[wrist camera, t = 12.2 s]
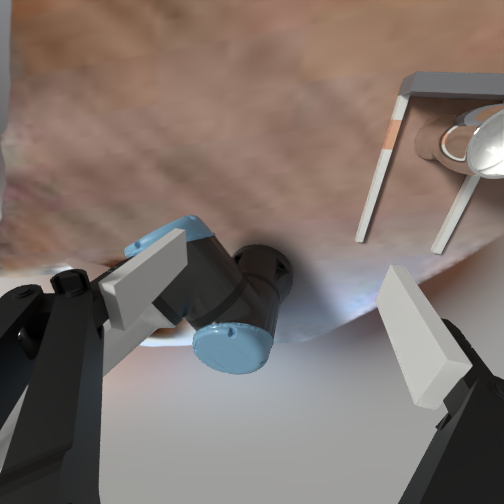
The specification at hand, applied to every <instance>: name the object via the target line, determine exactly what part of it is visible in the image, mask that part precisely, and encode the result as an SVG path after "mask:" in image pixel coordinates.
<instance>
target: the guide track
mask: <svg viewBox="0 0 504 504" xmlns="http://www.w3.org/2000/svg"><path fill="white" fill-rule="evenodd" d="M409 97H432V98H457V99H482V100H504V74H498V73H454V72H415V73H413V74H411V75H410V76H408V77H406V78H404V79H403V81H402V84H401V88H400V91H399V94H398V98H397V101H396V104H395V108H394V111H393V114H392V118H391V121H390V124H389V127H388V131H387V134H386V137H385V141H384V144H383V147H382V151H381V154H380V157H379V161H378V164H377V167H376V170H375V174H374V177H373V180H372V184H371V187H370V190H369V194H368V197H367V200H366V204H365V207H364V210H363V213H362V217H361V220H360V223H359V227H358V230H357V233H356V237H355V241H357V242H363V239H364V236H365V233H366V230H367V227H368V224H369V221H370V217H371V214H372V211H373V208H374V205H375V202H376V199H377V196H378V193H379V190H380V187H381V183H382V180H383V177H384V174H385V171H386V168H387V165H388V162H389V159H390V156H391V152H392V149H393V146H394V143H395V140H396V137H397V134H398V131H399V128H400V125H401V121H402V118H403V115H404V112H405V109H406V106H407V103H408V100H409ZM502 104H504V101H503V103H502ZM479 179H480V177H477V176H471V175H467V176H466V178H465V180H464V182H463V184H462V186H461V188H460V190H459V193H458V195H457V197H456V199H455V201H454V203H453V205H452V207H451V209H450V211H449V213H448V215H447V217H446V219H445V221H444V223H443V225H442V227H441V229H440V231H439V233H438V235H437V238H436V240H435V242H434V244H433V246H432V248H431V251H432V252H433V253H438V254H441V253H442V251H443V249H444V247H445V245H446V243H447V241H448V239H449V237H450V235H451V233H452V231H453V230H454V228H455V226H456V224H457V222H458V220H459V218H460V216H461V214H462V212H463V210H464V208H465V206H466V204H467V203H468V201H469V199H470V197H471V195H472V193H473V191H474V189H475V187H476V185H477V183H478V181H479Z"/></svg>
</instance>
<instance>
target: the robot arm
mask: <svg viewBox="0 0 504 504" xmlns="http://www.w3.org/2000/svg"><path fill="white" fill-rule="evenodd" d="M124 252H125V256H126V257H127V258H129V259H126V260H123V261H121V262H119V263H118V264H116V265H115V266H114V267H112V268H111V269H109V270H108V271H106V272H105V273H103V274H102V275H100V276H99V277H97V278H96V279H95V280H93V281H91V282H89V279H88V275H87V272H86V271H84V270H82V269H71V270H66V271H63V272H60V273H58V274H56V275H55V276H53V277H52V279H51V280H50V282H51V284H52V287H53V289H54V291H55V293H47V294H46V293H43V290H42V288H41V286H39V285H36V284H35V285H34V284H30V285H23V286H20V287H16V288H14V289H12V290H10V291H8V292H7V293H5V294H4V295H3V296H2V297H1V298H0V469H1V468H2V470H1V473H0V504H100V497H99V488H98V487H99V458H100V433H101V432H100V431H101V407H102V381H103V379H102V378H103V377H104V376H105V375H106V374H107V373H108V372H109V371H110V370H111V369H112V368H114V367H115V366H116V365H117V364H118V363H119V362H120V361H122V360H123V359H124V358H125V357H126V356H127V355H128V354H129V353H130V352H132V351H133V350H134V349H135V348H136V347H137V346H138V345H139V344H141V343H142V342H143V341H144V340H145V339H146V338H147V337H148V336H150V335H151V334H152V333H153V332H154V331H155V330H156V329H158V328H174V327H175V326H176V325H178V324H179V323H180V322H181V321H182V320H183V319H184V318H185V319H186V320H187V321H188V322H189V323H190V325H191V326H192V327H193V328H194V329H195V330H196V333H195V334H194V337H193V343H192V344H193V350H194V353H195V355H196V356H197V357H198V358H199V359H200V360H201V361H202V362H203V363H204V364H206V365H207V366H209V367H211V368H213V369H215V370H218V371H221V372H226V373H230V374H247V373H252V372H254V371H257V370H258V369H260V368H261V367H262V366H263V365H264V364H265V363H266V361H267V360H268V357H269V353H270V349H271V348H272V345H273V339H274V334H275V328H276V323H277V317H278V311H279V306H280V304H281V303H282V301H283V300H284V299H285V298H286V296H287V295H288V294H289V292H290V290H291V287H292V282H293V271H292V268H291V265H290V263H289V262H288V260H287V259H286V258H285V256H284V255H282V254H281V253H280V252H279V251H277V250H275V249H273V248H271V247H268V246H265V245H249V246H245V247H243V248H241V249H239V250H238V251H237V252H236V253H235V254H234V255H233V256H232V257H231V256H230V255H229V254H228V252H227V251H226V250H225V248H224V247H223V246H222V245H221V243H220V242H219V241H218V239H217V238H216V237H215V233H213V232H211V230H210V229H209V228H208V227H207V226H206V225H205V223H204V222H203V221H202V220H201V219H200V218H199V217H197V216H194V215H187V216H184V217H181V218H179V219H177V220H175V221H173V222H170V223H168V224H166V225H164V226H163V227H161V228H159V229H157V230H155V231H153V232H151V233H149V234H148V235H146V236H144V237H142V238H141V239H140V240H138V241H136V242H135V243H132V244H131V245H129V246H128V247H126V248H125V251H124ZM375 301H376V304H377V306H378V309H379V312H380V314H381V317H382V320H383V322H384V325H385V328H386V330H387V333H388V335H389V338H390V341H391V343H392V346H393V349H394V351H395V354H396V356H397V359H398V362H399V364H400V367H401V370H402V372H403V375H404V378H405V380H406V383H407V386H408V388H409V391H410V393H411V396H412V399H413V401H414V404H415V405H417V406H421V407H425V408H429V409H433V410H437V408H438V407H439V406H440V405H441V404H442V402H444V404H445V406H446V408H447V410H448V413H447V414H446V416H445V417H444V418H443V419H442V420H441V421H440V423H439V424H438V425H437V426H436V428H437V429H438V430H437V432H436V433H435V435H434V437H433V439H432V441H431V443H430V445H429V447H428V449H427V450H426V452H425V454H424V456H423V458H422V460H421V462H420V464H419V465H418V467H417V469H416V472H415V473H414V475H413V477H412V479H411V481H410V482H409V484H408V486H407V488H406V490H405V492H404V494H403V496H402V497H401V499H400V501H399V503H398V504H504V380H503V379H501V378H499V377H496V376H494V375H493V374H492V373H491V371H490V370H489V369H488V367H487V366H486V365H485V363H484V362H483V361H482V359H481V358H480V357H479V356H478V354H477V353H476V351H475V350H474V349H473V348H471V345H470V343H469V342H468V341H467V340H466V338H465V337H464V335H463V334H462V333H461V331H460V330H459V329H458V328H457V327H456V326H455V325H453V324H452V323H451V322H450V321H449V320H447V319H442V318H440V317H439V316H438V314H437V313H436V312H435V310H434V309H433V307H432V306H431V304H430V303H429V301H428V300H427V299H426V297H425V296H424V294H423V293H422V291H421V290H420V288H419V287H418V286H417V284H416V283H415V281H414V280H413V278H412V277H411V275H410V274H409V272H408V271H407V270H406V268H405V267H403V266H397V265H390V267H389V269H388V272H387V274H386V276H385V279H384V281H383V283H382V286H381V288H380V291H379V293H378V295H377V298H376V300H375ZM19 332H20V335H19V336H18V334H19Z"/></svg>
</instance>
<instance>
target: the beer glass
mask: <svg viewBox="0 0 504 504" xmlns="http://www.w3.org/2000/svg"><path fill="white" fill-rule="evenodd" d="M414 145H415V150H416V152H417V154H418V155H419V156H420V157H422V158H424V159H427V160H436V159H437V160H438V161H439V162H441V163H442V164H443V165H444V166H446V167H447V168H449V169H451V170H453V171H456V172H458V173H462V174H466V175H471V176H477V177H483V178H488V179H500V178H504V104H493V105H488V106H482V107H478V108H475V109H472V110H469V111H466V112H464V113H462V114H459V115H457V116H453V115H440V116H437V117H434V118H432V119H430V120H429V121H427V122H426V123H425V124H424V125H423V126H422V127H421V128H420V130H419V131H418V133H417V135H416V138H415V143H414Z"/></svg>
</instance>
